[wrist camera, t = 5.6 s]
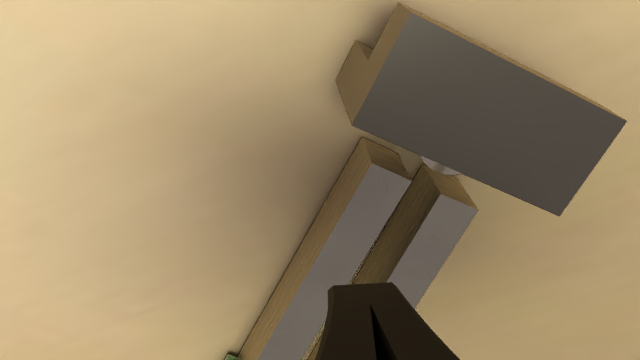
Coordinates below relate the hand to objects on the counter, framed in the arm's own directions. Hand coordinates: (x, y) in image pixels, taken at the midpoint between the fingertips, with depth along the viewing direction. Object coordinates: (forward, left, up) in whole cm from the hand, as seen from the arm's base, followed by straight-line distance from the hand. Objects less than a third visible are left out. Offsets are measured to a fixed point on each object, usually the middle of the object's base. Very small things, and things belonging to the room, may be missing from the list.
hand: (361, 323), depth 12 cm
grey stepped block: (-3, -3, -9) cm, 10 cm away
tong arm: (-1, +5, -9) cm, 10 cm away
